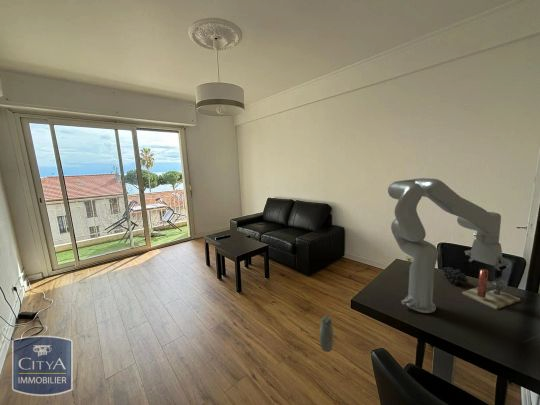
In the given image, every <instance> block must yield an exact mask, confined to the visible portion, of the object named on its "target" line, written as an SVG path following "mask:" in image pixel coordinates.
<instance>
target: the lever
mask: <svg viewBox="0 0 540 405" xmlns="http://www.w3.org/2000/svg"><path fill="white" fill-rule="evenodd" d="M488 277H489V270H488V269H486V268H485V269H484V268H479V272H478V280H477V282H478V283H477V287H478V291H477V295H478V296H480V297H486V292H488V291H491V290H495V289H501V291H506V290H507V286H508V281H507V280H504V279H500V280H492V281H491V284H488V285H487V281H488V280H489V279H488Z"/></svg>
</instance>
